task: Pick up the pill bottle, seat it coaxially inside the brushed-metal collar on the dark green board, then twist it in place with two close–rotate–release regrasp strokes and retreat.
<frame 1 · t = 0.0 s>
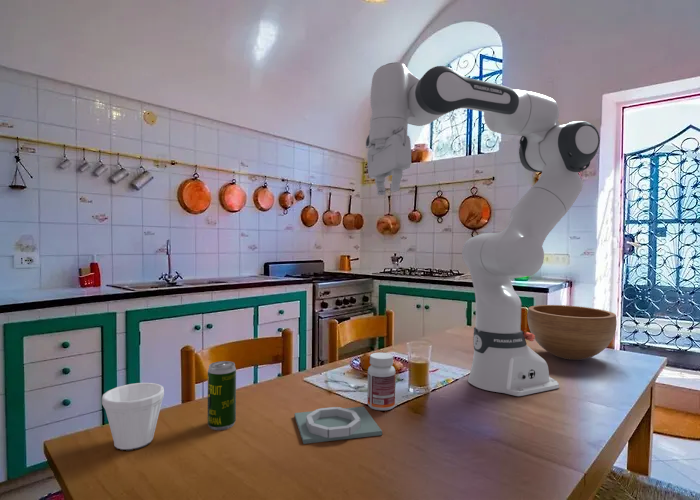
hand: (387, 193, 102), 48 cm above the table, fingers open, 8 cm apart
green soda can: (221, 425, 85), on the table
bowl: (569, 358, 136), on the table
cup: (133, 443, 77), on the table
pill bottle: (381, 406, 95), on the table
collar board: (336, 425, 85), on the table
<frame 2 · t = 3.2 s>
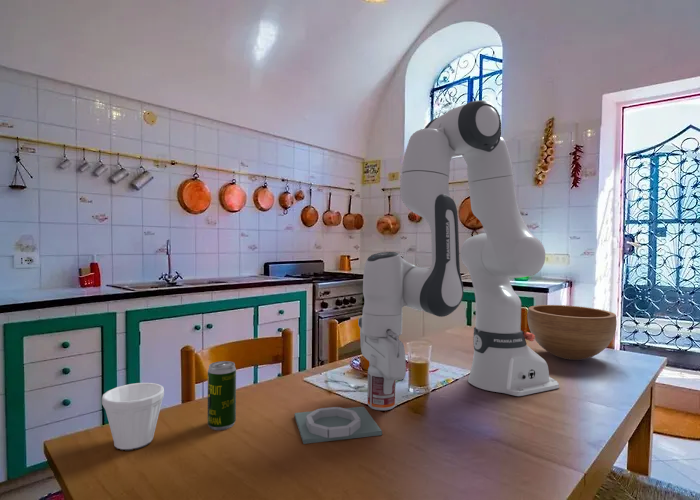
hand: (381, 387, 95), 4 cm above the table, fingers closed on pill bottle, 6 cm apart
pill bottle: (381, 406, 95), on the table, touching gripper
everything else where it was.
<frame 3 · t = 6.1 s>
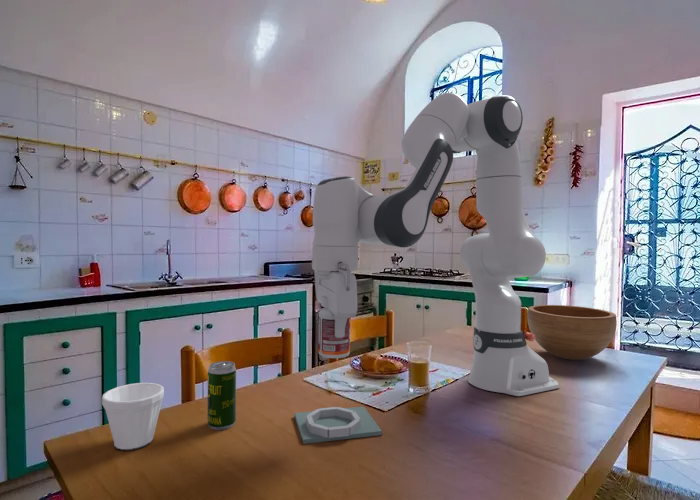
hand: (334, 332, 83), 19 cm above the table, fingers closed on pill bottle, 6 cm apart
pill bottle: (333, 355, 83), point 14 cm above the table, touching gripper
everything else where it was.
when the fingers open (6 cm above the table, at t = 8.9 s): pill bottle stays where it is, resting on collar board.
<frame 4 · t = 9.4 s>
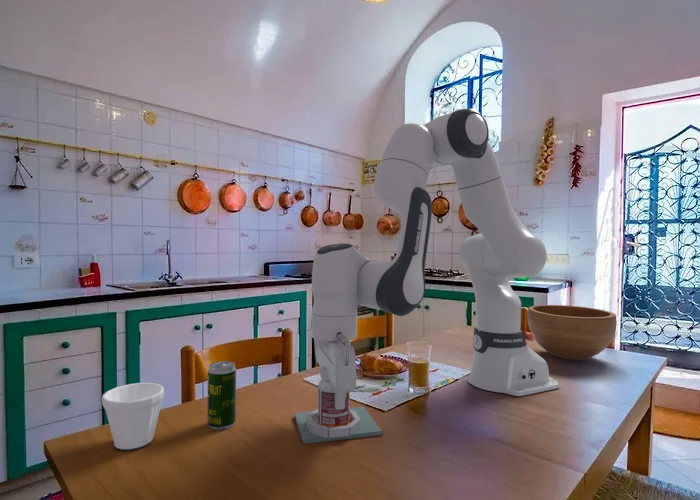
hand: (333, 398, 83), 6 cm above the table, fingers open, 8 cm apart
pill bottle: (333, 426, 83), point 1 cm above the table, touching collar board
everything else where it was.
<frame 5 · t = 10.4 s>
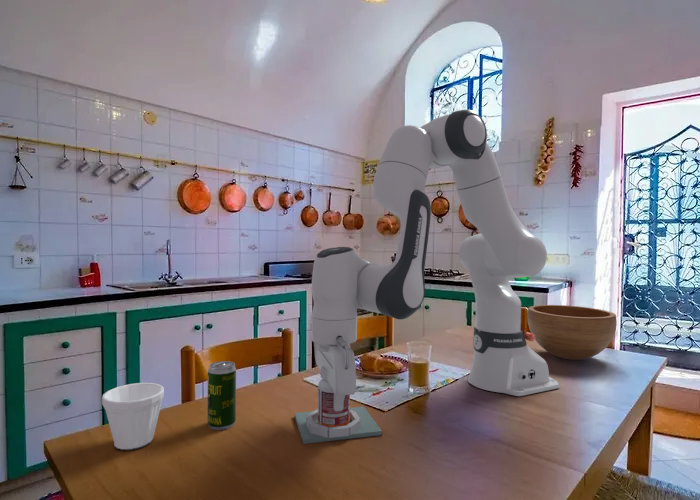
hand: (333, 401, 83), 5 cm above the table, fingers closed on pill bottle, 6 cm apart
pill bottle: (333, 426, 83), point 1 cm above the table, touching collar board, gripper
everything else where it was.
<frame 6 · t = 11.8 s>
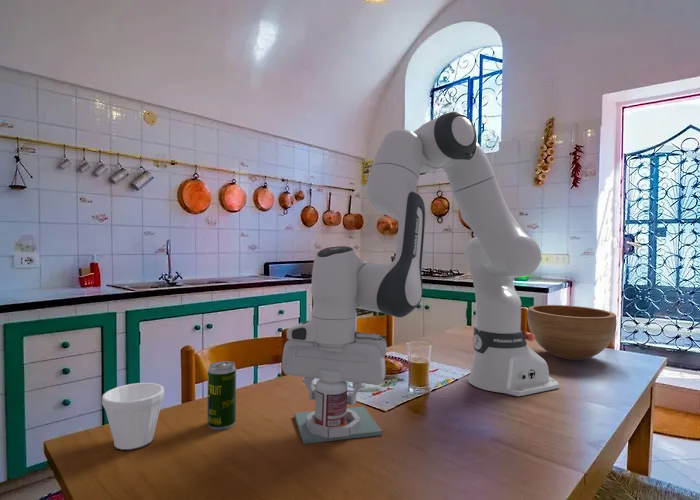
hand: (332, 401, 83), 6 cm above the table, fingers closed on pill bottle, 6 cm apart
pill bottle: (329, 427, 83), point 1 cm above the table, touching collar board, gripper
everything else where it was.
when the fingers open (6 cm above the table, at t = 11.8 s): pill bottle stays where it is, resting on collar board.
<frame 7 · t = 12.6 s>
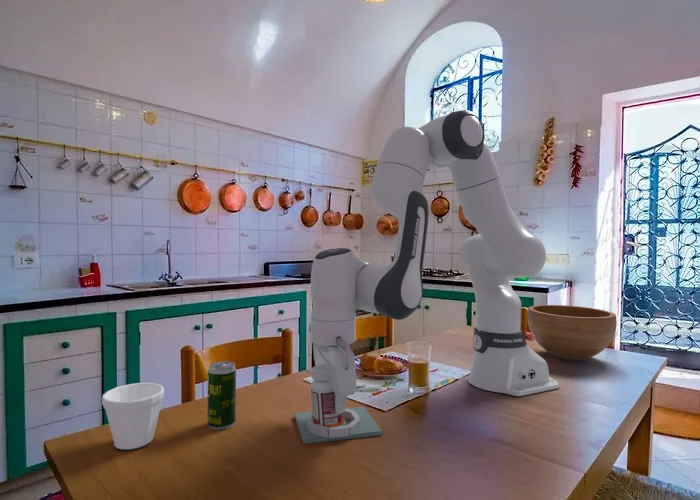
hand: (333, 401, 84), 5 cm above the table, fingers open, 8 cm apart
pill bottle: (329, 426, 83), point 1 cm above the table, touching collar board, gripper
everything else where it was.
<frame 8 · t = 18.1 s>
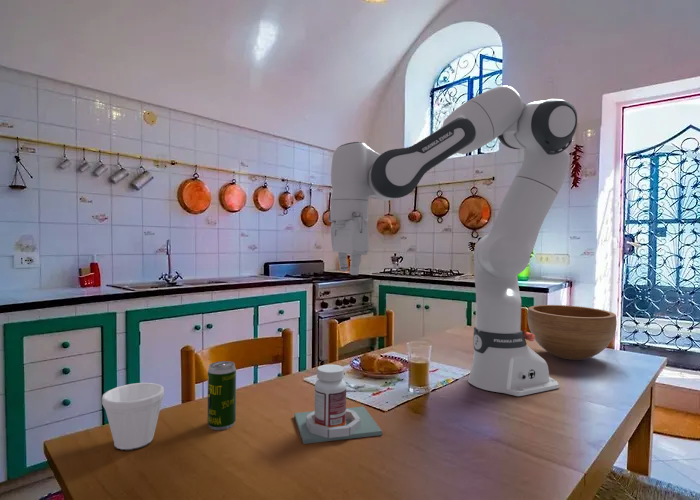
hand: (348, 273, 100), 29 cm above the table, fingers open, 8 cm apart
pill bottle: (330, 426, 83), point 1 cm above the table, touching collar board
everything else where it was.
at the end: pill bottle 0.6 cm from the target spot on the collar board, point 0.6 cm above the collar board's base; pill bottle tilted 0°; the gripper is holding nothing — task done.
